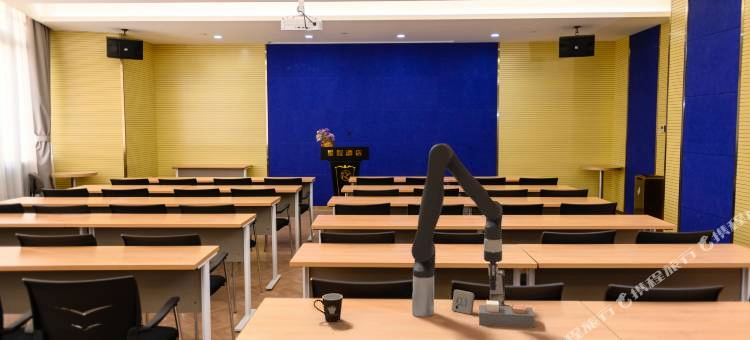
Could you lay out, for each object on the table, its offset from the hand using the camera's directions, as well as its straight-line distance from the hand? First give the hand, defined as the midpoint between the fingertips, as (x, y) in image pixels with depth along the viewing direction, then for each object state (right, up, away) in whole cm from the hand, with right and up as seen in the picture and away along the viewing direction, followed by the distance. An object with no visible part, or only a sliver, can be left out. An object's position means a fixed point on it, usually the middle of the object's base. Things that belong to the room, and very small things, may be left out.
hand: (493, 289), depth 236 cm
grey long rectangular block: (+5, -14, 0) cm, 15 cm away
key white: (0, -11, +1) cm, 11 cm away
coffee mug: (-69, -14, +5) cm, 71 cm away
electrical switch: (-10, -13, +14) cm, 21 cm away
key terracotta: (+11, -12, -1) cm, 16 cm away
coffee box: (+6, -12, +19) cm, 23 cm away
